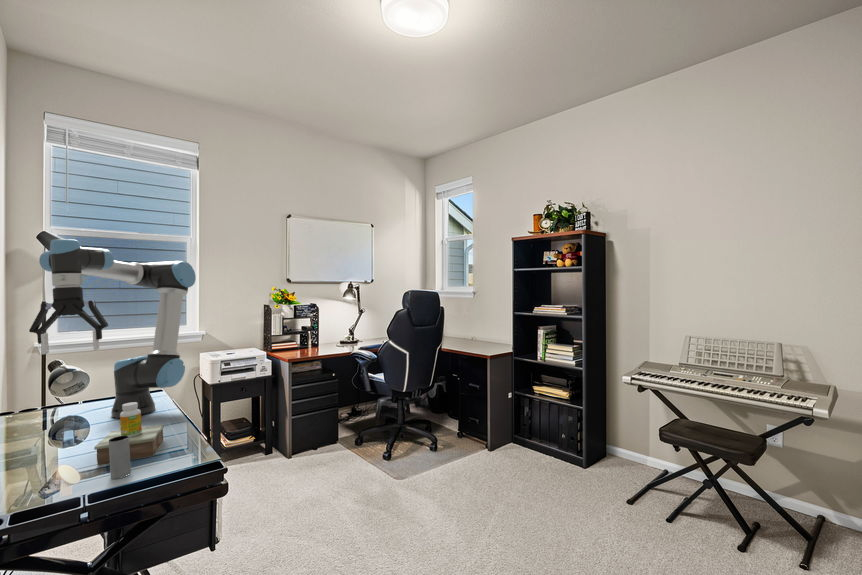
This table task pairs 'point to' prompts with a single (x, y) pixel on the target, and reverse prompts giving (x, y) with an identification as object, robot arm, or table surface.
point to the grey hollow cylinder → (119, 457)
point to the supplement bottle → (130, 420)
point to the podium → (133, 444)
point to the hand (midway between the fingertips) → (71, 351)
